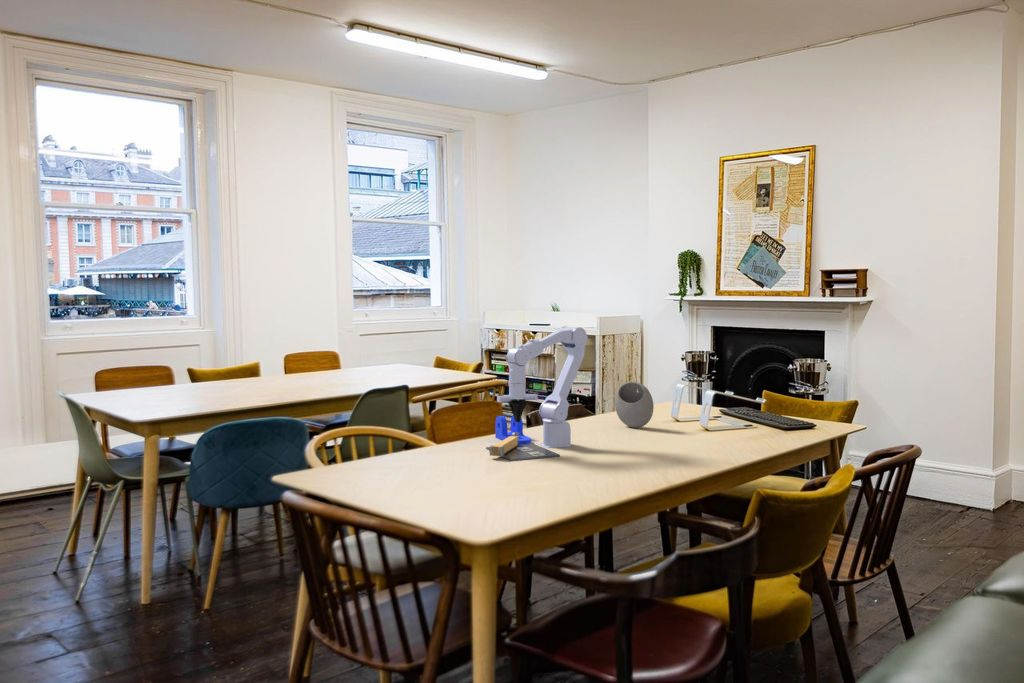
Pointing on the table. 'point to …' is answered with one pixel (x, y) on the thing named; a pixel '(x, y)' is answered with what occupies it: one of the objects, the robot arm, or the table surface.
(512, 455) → the panel
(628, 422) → the planter
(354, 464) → the table surface
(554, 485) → the table surface
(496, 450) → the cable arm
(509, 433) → the bracket
